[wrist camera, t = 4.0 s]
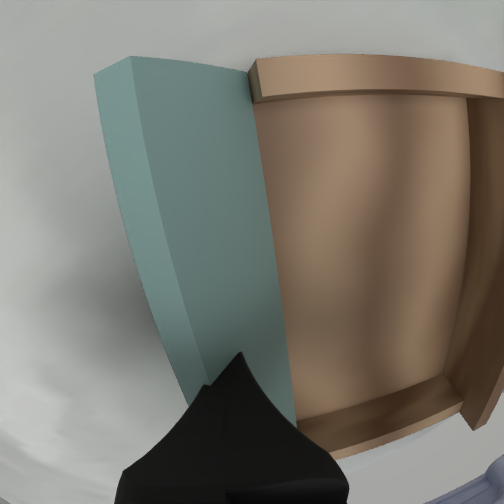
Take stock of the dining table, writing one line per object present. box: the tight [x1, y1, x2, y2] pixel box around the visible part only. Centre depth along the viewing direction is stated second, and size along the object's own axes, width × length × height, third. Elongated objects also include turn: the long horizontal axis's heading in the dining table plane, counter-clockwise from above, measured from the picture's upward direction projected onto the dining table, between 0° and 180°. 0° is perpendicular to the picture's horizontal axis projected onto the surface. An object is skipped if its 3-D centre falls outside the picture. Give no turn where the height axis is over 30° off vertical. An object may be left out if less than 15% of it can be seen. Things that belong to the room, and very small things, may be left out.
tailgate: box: [94, 56, 297, 428], centre depth 12 cm, size 1×20×6 cm
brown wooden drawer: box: [247, 54, 504, 460], centre depth 13 cm, size 13×20×6 cm, turn 9°
